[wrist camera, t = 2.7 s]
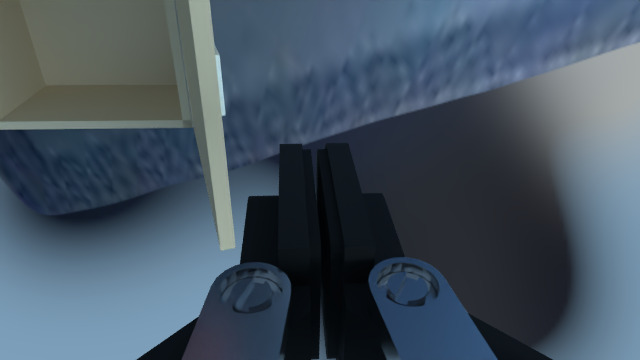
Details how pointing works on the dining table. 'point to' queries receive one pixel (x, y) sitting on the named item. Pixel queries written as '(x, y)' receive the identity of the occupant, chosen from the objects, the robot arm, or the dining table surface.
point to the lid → (207, 109)
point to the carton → (92, 65)
